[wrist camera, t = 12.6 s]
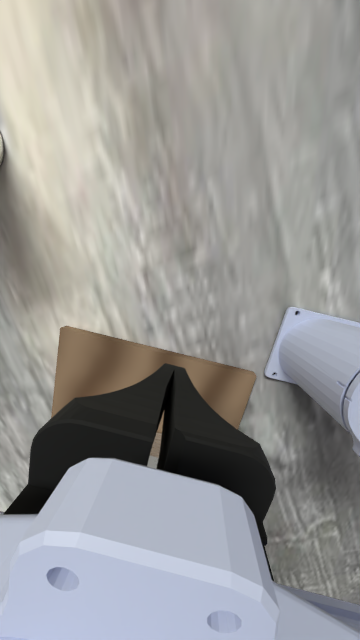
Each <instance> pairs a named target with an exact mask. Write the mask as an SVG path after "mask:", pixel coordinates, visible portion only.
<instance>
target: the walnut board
mask: <svg viewBox="0 0 360 640" xmlns="http://www.w3.org/2000/svg"><path fill="white" fill-rule="evenodd" d="M165 363H167V364H171V365H175V366H179V367H183V368H185V369H186V371H187V374H188V376H189V378H190V380H191V381H192V383H193V385H194V387H195V388H196V390H197V391H198V392H199V394H200V395H201V397H202V398H203V399H204V400H205V401H206V402H207V404H208V405H209V406H210V407H211V408H212V409H213V410H214V411H215V412H216V413H217V414H219V415H220V416H221V417H222V418H223V419H224V420H225V421H227V422H228V423H229V424H231V425H232V426H233V427H235V428H236V429H237V430H238V427H239V425H240V422H241V419H242V416H243V413H244V410H245V408H246V405H247V402H248V399H249V396H250V393H251V391H252V388H253V385H254V382H255V379H256V375H255V373H254V372H252V371H248V370H244V369H240V368H236V367H232V366H228V365H224V364H220V363H216V362H212V361H208V360H204V359H199V358H195V357H191V356H187V355H183V354H179V353H175V352H171V351H167V350H163V349H159V348H155V347H151V346H146V345H142V344H138V343H134V342H130V341H126V340H122V339H118V338H114V337H110V336H106V335H102V334H98V333H93V332H89V331H85V330H81V329H77V328H73V327H69V326H65V327H62V328H60V336H59V346H58V356H57V366H56V376H55V386H54V396H53V406H52V416H51V418H52V417H53V416H54V415H55V414H56V413H57V412H59V411H60V410H61V409H62V408H63V407H64V406H65V405H66V404H68V403H69V402H70V401H71V400H73V399H74V398H77V397H86V396H94V395H101V394H105V393H110V392H114V391H118V390H121V389H124V388H126V387H129V386H132V385H134V384H136V383H138V382H140V381H142V380H144V379H145V378H147V377H148V376H150V375H151V374H153V373H154V372H155V371H157V370H158V369H159V368H160V367H161V366H162V365H163V364H165ZM163 418H164V412H163V415H162V418H161V421H160V424H159V427H158V430H157V433H161V434H162V427H163Z"/></svg>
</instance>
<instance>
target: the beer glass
mask: <svg viewBox="0 0 360 640" xmlns="http://www.w3.org/2000/svg"><path fill="white" fill-rule="evenodd" d="M3 154H4V146H3V140H2V136H1V133H0V165H1V163H2V160H3Z"/></svg>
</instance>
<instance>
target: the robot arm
mask: <svg viewBox="0 0 360 640" xmlns="http://www.w3.org/2000/svg"><path fill="white" fill-rule="evenodd" d="M296 311H298V314H297V315H295V312H296ZM274 372H275V375H272V374H273V373H274ZM264 373H265V375H266V376H267V377H269V378H273V379H277V380H281V381H285V382H289V383H293V384H298V385H299V386H300V387H301V388H302V389H303V390H304V391H305V392H306V393H307V394H308V395H309V396H311V397H312V398H313V399H314V400H315V401H316V402H317V403H318V404H319V405H320V406H321V407H322V408H323V409H324V410H325V411H326V412H328V413H329V414H330V415H331V416H332V417H333V418H334V419H335V420H336V421H337V422H338V423H339V424H340V425H341V426H342V427H343V428H345V429H346V430H347V431H348V432H349V433H350V434H351V435H352V437H353V448H352V449H353V451H354V452H355V453H356V454H357V455H358V456H359V457H360V323H358V322H354V321H350V320H346V319H341V318H337V317H333V316H329V315H325V314H321V313H316V312H312V311H308V310H304V309H300V308H295V307H289V308H288V309H287V310H286V313H285V315H284V318H283V321H282V324H281V326H280V329H279V332H278V335H277V337H276V340H275V343H274V346H273V349H272V351H271V354H270V357H269V360H268V362H267V365H266V368H265V371H264ZM163 412H164V418H163V427H162V436H161V446H160V452H159V458H158V463H157V468H156V469H155V468H151V467H147V464H148V460H149V456H150V452H151V449H152V445H153V442H154V439H155V436H156V433H157V430H158V427H159V424H160V421H161V418H162V415H163ZM275 490H276V486H275V478H274V476H273V473H272V471H271V468H270V466H269V463H268V461H267V458H266V456H265V454H264V452H263V450H262V448H261V446H260V444H259V443H257V442H256V441H254V440H253V439H251V438H250V437H248V436H246V435H245V434H243V433H242V432H240V431H239V430H237V429H236V428H235V427H233V426H232V425H231V424H229V423H228V422H227V421H225V420H224V419H223V418H222V417H221V416H220V415H219V414H217V413H216V412H215V411H214V410H213V409H212V408H211V407H210V406H209V405H208V404H207V402H206V401H205V400H204V399H203V398H202V397H201V395H200V394H199V392H198V391H197V390H196V388H195V387H194V385H193V383H192V381H191V380H190V378H189V376H188V374H187V371H186V369H185V368H183V367H179V366H175V365H171V364H167V363H165V364H163V365H162V366H161V367H160V368H159V369H158V370H157V371H155V372H154V373H153V374H151V375H150V376H148V377H147V378H145V379H144V380H142V381H140V382H138V383H136V384H134V385H132V386H129V387H126V388H124V389H121V390H118V391H114V392H110V393H105V394H101V395H94V396H86V397H77V398H74V399H73V400H71V401H70V402H69V403H68V404H66V405H65V406H64V407H63V408H62V409H61V410H60V411H59V412H57V413H56V414H55V415H54V416H53V417H52V418H51V419H50V420H49V421H48V422H47V423H46V424H45V425H44V426H43V427H42V428H41V429H40V430H39V431H38V432H37V434H36V435H35V437H34V439H33V442H32V446H31V452H30V466H29V479H28V485H27V486H26V487H25V488H24V489H23V491H22V492H21V493H20V494H19V496H18V497H17V498H16V499H15V500H14V502H13V503H12V504H11V505H10V507H9V508H8V509H7V510H6V511H5V512H2V511H0V640H360V605H358V604H354V603H350V602H346V601H343V600H339V599H335V598H331V597H327V596H323V595H320V594H316V593H312V592H308V591H304V590H300V589H297V588H293V587H289V586H285V585H281V584H277V583H276V582H274V579H273V576H272V572H271V569H270V565H269V561H268V558H267V554H266V551H265V547H264V546H266V544H267V536H266V532H265V529H264V526H263V520H264V518H265V516H266V514H267V511H268V509H269V507H270V505H271V502H272V500H273V497H274V494H275Z"/></svg>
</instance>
